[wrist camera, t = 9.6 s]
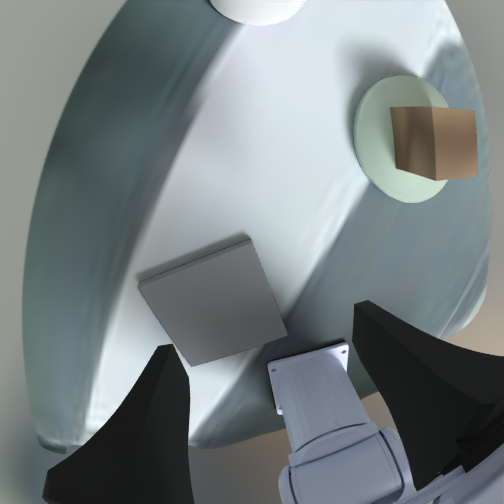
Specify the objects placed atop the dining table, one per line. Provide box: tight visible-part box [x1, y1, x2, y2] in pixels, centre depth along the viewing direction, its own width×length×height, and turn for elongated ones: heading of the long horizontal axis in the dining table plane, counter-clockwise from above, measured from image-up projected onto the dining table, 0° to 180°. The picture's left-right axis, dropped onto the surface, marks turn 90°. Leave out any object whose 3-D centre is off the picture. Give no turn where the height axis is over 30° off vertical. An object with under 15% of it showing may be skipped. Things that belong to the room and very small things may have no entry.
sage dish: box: [353, 75, 449, 203], centre depth 17 cm, size 10×10×1 cm
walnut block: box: [390, 106, 477, 181], centre depth 15 cm, size 4×4×4 cm
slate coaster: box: [137, 239, 288, 367], centre depth 21 cm, size 9×9×1 cm
